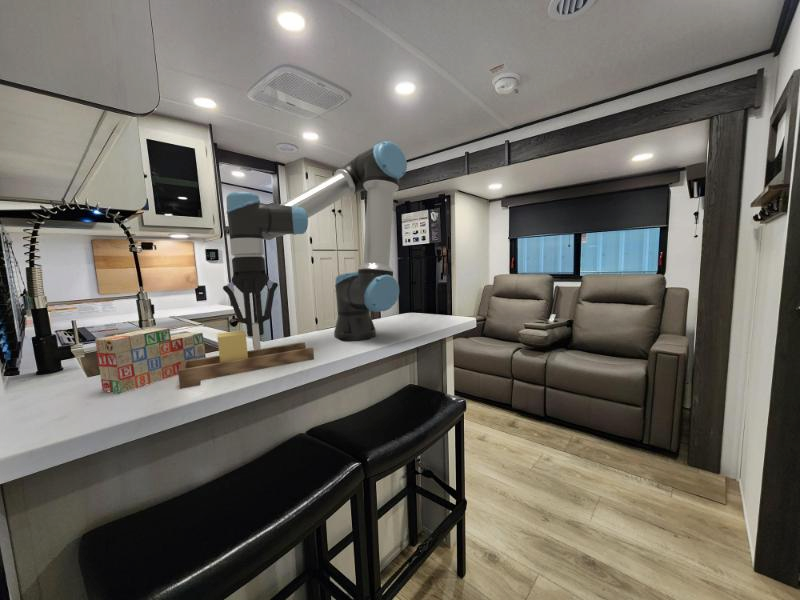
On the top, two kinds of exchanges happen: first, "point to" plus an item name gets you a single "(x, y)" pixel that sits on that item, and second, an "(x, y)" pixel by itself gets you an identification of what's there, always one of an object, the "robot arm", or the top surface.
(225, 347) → the block
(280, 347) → the chute
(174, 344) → the stack of blocks
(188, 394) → the top surface
